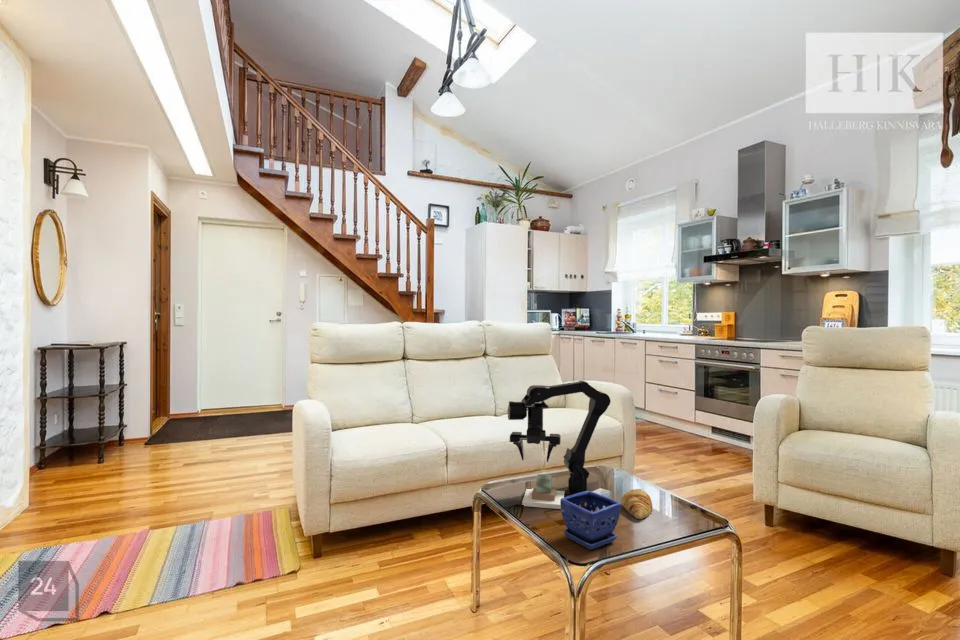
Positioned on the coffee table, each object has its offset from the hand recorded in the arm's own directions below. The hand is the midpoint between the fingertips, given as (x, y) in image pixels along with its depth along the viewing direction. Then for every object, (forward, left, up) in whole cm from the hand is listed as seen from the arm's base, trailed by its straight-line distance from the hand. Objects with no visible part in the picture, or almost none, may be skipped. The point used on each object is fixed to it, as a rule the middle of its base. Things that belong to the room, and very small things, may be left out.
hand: (535, 460), depth 184 cm
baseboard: (-4, +7, -12) cm, 14 cm away
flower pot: (-20, +36, -12) cm, 43 cm away
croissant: (-36, +8, -12) cm, 39 cm away
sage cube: (-4, +7, -8) cm, 12 cm away
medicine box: (-23, +19, -12) cm, 32 cm away
